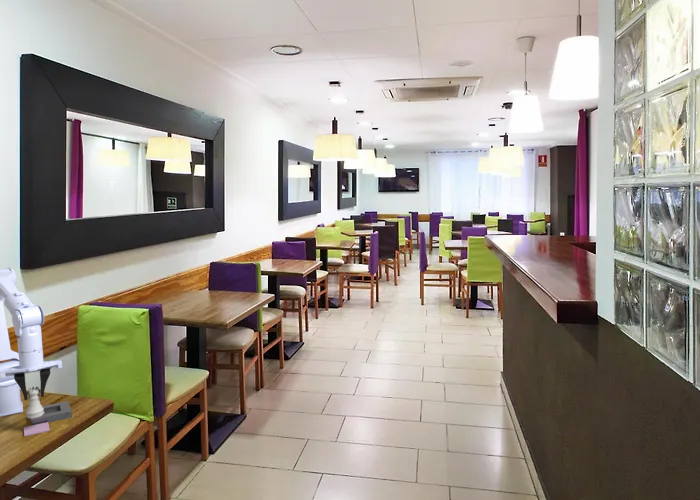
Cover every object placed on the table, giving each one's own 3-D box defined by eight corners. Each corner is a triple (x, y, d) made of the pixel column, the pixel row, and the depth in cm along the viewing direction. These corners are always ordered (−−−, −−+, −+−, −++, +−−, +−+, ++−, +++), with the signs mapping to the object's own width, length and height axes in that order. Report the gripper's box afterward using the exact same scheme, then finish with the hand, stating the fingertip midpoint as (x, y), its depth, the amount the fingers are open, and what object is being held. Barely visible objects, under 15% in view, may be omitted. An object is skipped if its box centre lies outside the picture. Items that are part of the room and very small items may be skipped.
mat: (23, 428, 144) (23, 427, 144) (48, 423, 148) (48, 422, 148) (24, 436, 140) (24, 435, 139) (49, 430, 143) (49, 429, 143)
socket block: (30, 414, 155) (30, 408, 155) (68, 406, 160) (68, 400, 160) (31, 425, 146) (31, 419, 146) (71, 417, 152) (71, 411, 152)
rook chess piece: (33, 420, 141) (32, 392, 140) (22, 417, 142) (20, 390, 141) (48, 413, 145) (46, 386, 144) (36, 411, 147) (34, 384, 146)
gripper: (-2, 357, 134) (2, 407, 136) (61, 348, 142) (64, 395, 143) (-1, 351, 140) (3, 399, 141) (59, 343, 148) (62, 388, 149)
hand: (34, 397), depth 143 cm, fingers closed on rook chess piece, 3 cm apart
